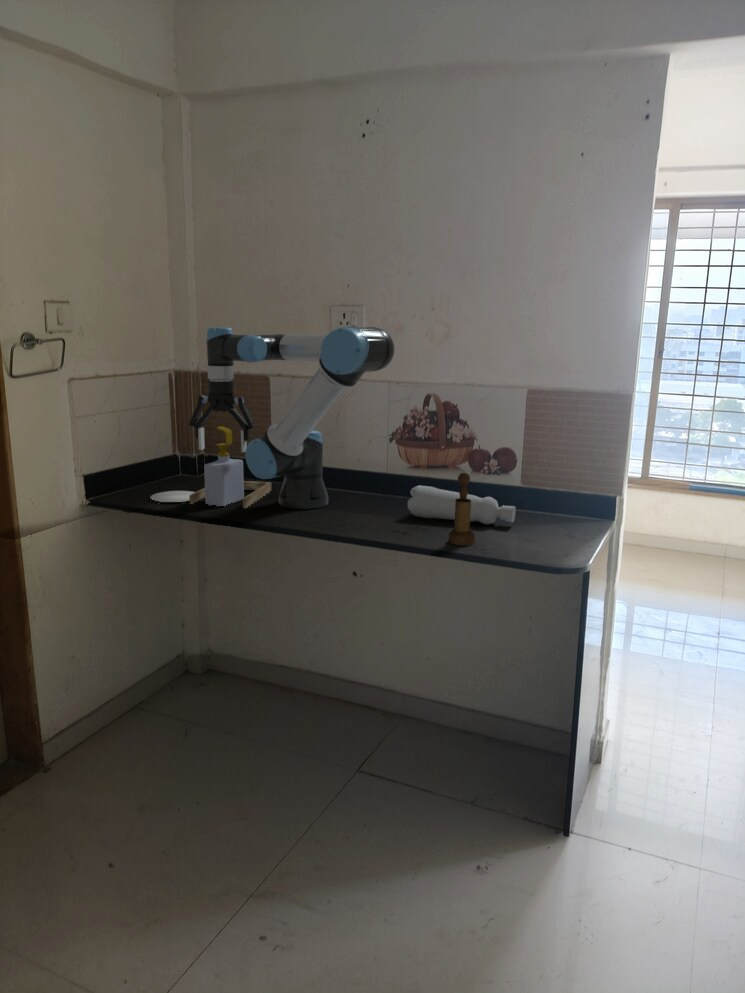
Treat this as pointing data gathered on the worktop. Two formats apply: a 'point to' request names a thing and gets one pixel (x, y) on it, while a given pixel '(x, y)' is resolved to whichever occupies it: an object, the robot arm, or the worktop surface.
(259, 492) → the frame
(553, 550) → the worktop surface
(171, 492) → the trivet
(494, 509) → the bottle
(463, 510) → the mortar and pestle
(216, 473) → the soap bottle
